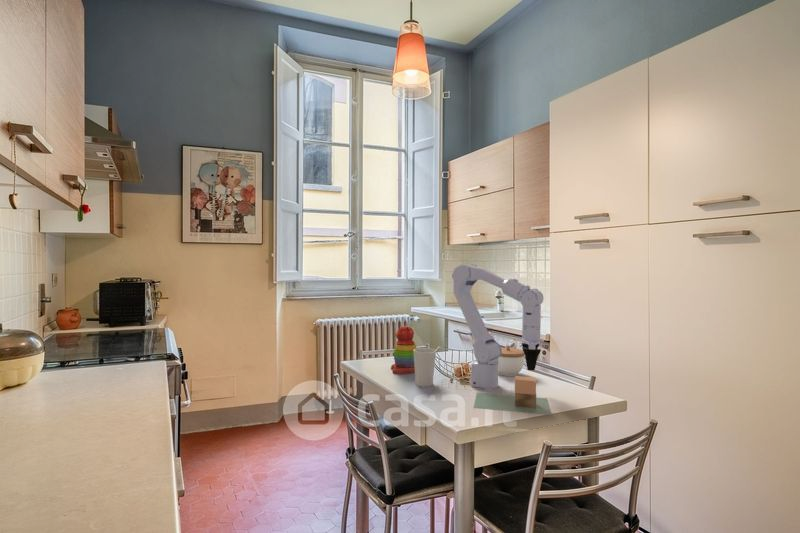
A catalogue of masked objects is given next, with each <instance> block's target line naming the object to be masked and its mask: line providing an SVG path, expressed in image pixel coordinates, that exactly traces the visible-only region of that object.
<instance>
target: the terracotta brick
mask: <svg viewBox="0 0 800 533" xmlns="http://www.w3.org/2000/svg"><path fill="white" fill-rule="evenodd" d="M515 393H520V394H532V395H536V396H537V379H536V377H533V376H532V377H531V376H520V375H516V376H514V394H515Z"/></svg>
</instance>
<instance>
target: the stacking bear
mask: <svg viewBox="0 0 800 533" xmlns="http://www.w3.org/2000/svg"><path fill="white" fill-rule="evenodd" d="M414 336H415V332H414V329H413V327H411V326H407V325H403V326H401V327H399V329H397V331H396V332H395V337H396V339H397V341H396V343H395V346H394V351H393V360H394V363H393V364H391V367H390V369H391V370H392V373H393V374H396V375H406V374H407V375H408V374H412V373H414V374H415V366H414V349H418V347H417V344H416V343H415V341H414V340H413V339H414Z"/></svg>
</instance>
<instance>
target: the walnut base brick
mask: <svg viewBox="0 0 800 533" xmlns="http://www.w3.org/2000/svg"><path fill="white" fill-rule="evenodd" d="M514 396H515V406H516V407H527V408H536V397H537V394H536V395H532V394H520V393H515V392H514Z"/></svg>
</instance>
